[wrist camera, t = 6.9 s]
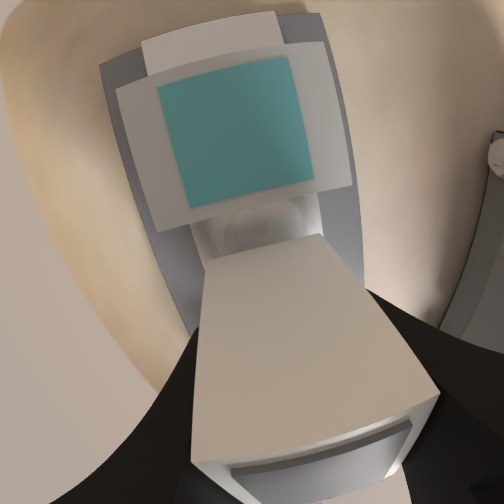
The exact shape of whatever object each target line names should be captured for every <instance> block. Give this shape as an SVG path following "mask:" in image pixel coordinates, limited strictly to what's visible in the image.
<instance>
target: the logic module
mask: <svg viewBox="0 0 504 504" xmlns="http://www.w3.org/2000/svg"><path fill="white" fill-rule="evenodd" d="M439 395H440V391H439V390H438V388H437V387H436V385H435V384H434V382H433V381H432V379H431V378H430V376H429V375H428V373H427V372H426V370H425V369H424V367H423V366H422V364H421V363H420V361H419V360H418V359H417V357H416V356H415V354H414V353H413V351H412V350H411V349H410V347H409V346H408V344H407V343H406V341H405V340H404V339H403V337H402V336H401V335H400V333H399V332H398V330H397V329H396V328H395V326H394V325H393V324H392V322H391V321H390V320H389V318H388V317H387V316H386V314H385V313H384V312H383V310H382V309H381V308H380V306H379V305H378V304H377V302H376V301H375V300H374V299H373V297H372V296H371V295H370V293H369V292H368V291H367V290H366V288H365V287H364V286H363V285H362V283H361V282H360V281H359V279H358V278H357V277H356V276H355V274H354V273H353V272H352V271H351V270H350V268H349V267H348V266H347V265H346V263H345V262H344V261H343V260H342V259H341V257H340V256H339V255H338V254H337V252H336V251H335V250H334V249H333V248H332V247H331V245H330V244H329V243H328V242H327V241H326V239H325V238H324V237H323V236H322V235H321V234H320V233H316V234H312V235H308V236H304V237H300V238H296V239H292V240H288V241H284V242H280V243H276V244H272V245H268V246H264V247H260V248H256V249H252V250H248V251H243V252H239V253H235V254H231V255H227V256H223V257H219V258H215V259H211V260H207V262H206V270H205V278H204V287H203V296H202V306H201V316H200V326H199V337H198V348H197V360H196V373H195V387H194V402H193V420H192V442H191V462H192V463H193V464H194V465H195V466H196V467H197V468H199V469H200V470H201V471H202V472H203V473H204V474H206V475H207V476H208V477H209V478H211V479H212V480H213V481H214V482H216V483H217V484H218V485H219V486H221V487H222V488H223V489H225V490H226V491H227V492H229V493H230V494H231V495H233V496H234V497H235V498H237V499H238V500H240V501H241V502H243V503H244V504H310V503H314V502H318V501H322V500H325V499H330V498H333V497H337V496H340V495H343V494H347V493H350V492H353V491H356V490H359V489H362V488H364V487H367V486H370V485H373V484H375V483H378V482H380V481H382V480H383V479H384V478H385V477H388V476H390V475H392V474H394V473H395V472H396V471H397V469H398V468H399V466H400V465H401V463H402V462H403V460H404V459H405V457H406V455H407V454H408V452H409V451H410V449H411V447H412V446H413V444H414V442H415V441H416V439H417V437H418V436H419V434H420V432H421V430H422V428H423V427H424V425H425V423H426V421H427V419H428V417H429V415H430V413H431V411H432V409H433V407H434V405H435V403H436V401H437V399H438V397H439Z"/></svg>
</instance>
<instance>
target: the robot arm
mask: <svg viewBox="0 0 504 504" xmlns="http://www.w3.org/2000/svg"><path fill="white" fill-rule="evenodd" d="M366 290H367V291H368V292H369V293H370V295H371V296H372V297H373V299H374V300H375V301H376V302H377V304H378V305H379V306H380V308H381V309H382V310H383V312H384V313H385V314H386V316H387V317H388V318H389V320H390V321H391V322H392V324H393V325H394V326H395V328H396V329H397V330H398V332H399V333H400V335H401V336H402V337H403V339H404V340H405V341H406V343H407V344H408V346H409V347H410V349H411V350H412V351H413V353H414V354H415V356H416V357H417V359H418V360H419V361H420V363H421V364H422V366H423V367H424V369H425V370H426V372H427V373H428V375H429V376H430V378H431V379H432V381H433V382H434V384H435V385H436V387H437V388H438V390H439V391H440V395H439V397H438V399H437V401H436V403H435V405H434V407H433V409H432V411H431V413H430V415H429V417H428V419H427V421H426V423H425V425H424V427H423V428H422V430H421V432H420V434H419V436H418V437H417V439H416V441H415V442H414V444H413V446H412V447H411V449H410V451H409V452H408V454H407V455H406V457H405V459H404V460H403V462H402V463H401V464H402V467H403V470H404V473H405V477H406V481H407V485H408V489H409V493H410V497H411V502H412V504H504V354H503V353H499V352H496V351H492V350H489V349H486V348H483V347H480V346H477V345H474V344H471V343H469V342H466V341H464V340H461V339H459V338H456V337H454V336H452V335H449V334H447V333H445V332H443V331H441V330H439V329H437V328H435V327H433V326H431V325H429V324H427V323H425V322H423V321H421V320H419V319H417V318H415V317H414V316H412V315H410V314H408V313H406V312H405V311H403V310H401V309H399V308H398V307H396V306H394V305H393V304H391V303H389V302H388V301H386V300H384V299H383V298H381V297H379V296H378V295H376V294H374V293H373V292H371V291H369V290H368V289H366ZM198 337H199V327H197V328H196V329H195V331H194V333H193V334H192V336H191V338H190V340H189V342H188V344H187V346H186V348H185V350H184V352H183V354H182V355H181V357H180V359H179V361H178V363H177V365H176V366H175V368H174V370H173V372H172V373H171V375H170V377H169V379H168V380H167V382H166V384H165V385H164V387H163V389H162V390H161V392H160V393H159V395H158V397H157V398H156V400H155V401H154V403H153V404H152V406H151V407H150V409H149V410H148V412H147V413H146V414H145V416H144V417H143V419H142V420H141V421H140V423H139V424H138V425H137V426H136V428H135V429H134V430H133V432H132V433H131V434H130V435H129V436H128V437H127V439H126V440H125V441H124V442H123V443H122V444H121V445H120V446H119V447H118V448H117V449H116V451H115V452H114V453H113V454H112V455H111V456H110V457H109V458H108V459H107V460H106V461H105V462H104V463H103V464H102V465H101V466H100V467H98V468H97V469H96V470H95V471H94V472H93V473H92V474H91V475H89V476H88V477H87V478H86V479H84V481H82V482H81V483H80V484H78V485H77V486H76V487H74V488H73V489H72V490H70V491H68V492H67V493H65V494H64V495H62V496H61V497H60V498H58V499H56V500H55V501H53V502H51V503H50V504H244V503H243V502H241V501H240V500H238V499H237V498H235V497H234V496H233V495H231V494H230V493H229V492H227V491H226V490H225V489H223V488H222V487H221V486H219V485H218V484H217V483H216V482H214V481H213V480H212V479H211V478H209V477H208V476H207V475H206V474H204V473H203V472H202V471H201V470H200V469H199V468H197V467H196V466H195V465H194V464H193V463H192V462H191V442H192V420H193V402H194V387H195V373H196V360H197V348H198ZM310 504H325V500H322V501H318V502H314V503H310Z"/></svg>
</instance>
